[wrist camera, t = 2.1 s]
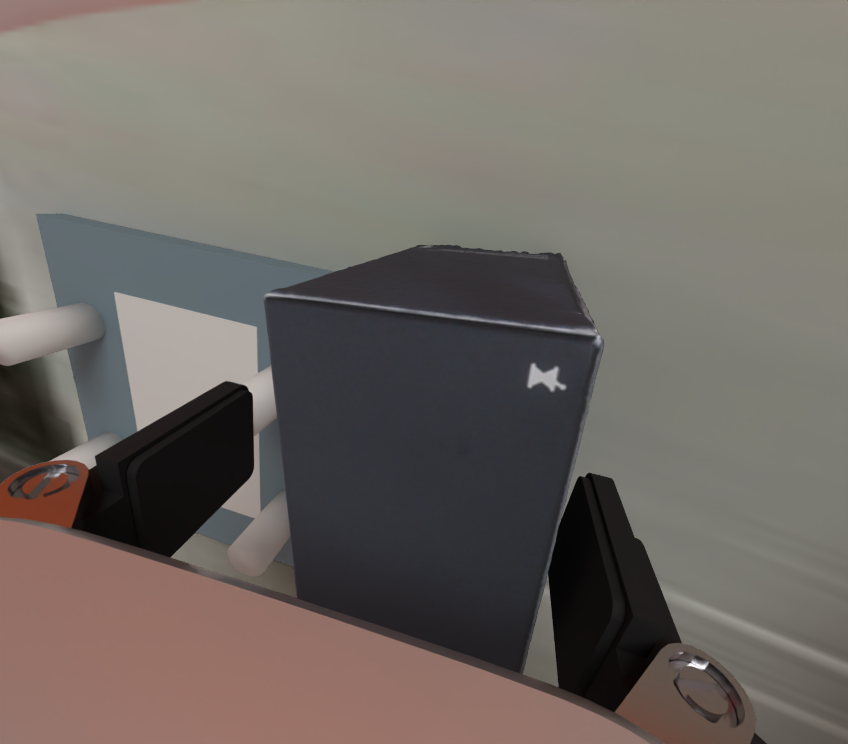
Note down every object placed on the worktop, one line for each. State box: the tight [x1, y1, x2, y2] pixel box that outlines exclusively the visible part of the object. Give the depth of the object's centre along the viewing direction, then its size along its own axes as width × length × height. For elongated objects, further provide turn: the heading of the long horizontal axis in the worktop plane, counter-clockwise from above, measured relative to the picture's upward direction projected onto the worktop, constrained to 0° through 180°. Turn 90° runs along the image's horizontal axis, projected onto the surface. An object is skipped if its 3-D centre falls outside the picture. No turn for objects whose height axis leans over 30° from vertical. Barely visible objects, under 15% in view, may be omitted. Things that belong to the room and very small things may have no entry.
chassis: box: [0, 214, 333, 577], centre depth 20 cm, size 16×18×5 cm
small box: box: [264, 245, 604, 674], centre depth 13 cm, size 11×6×10 cm, turn 177°
